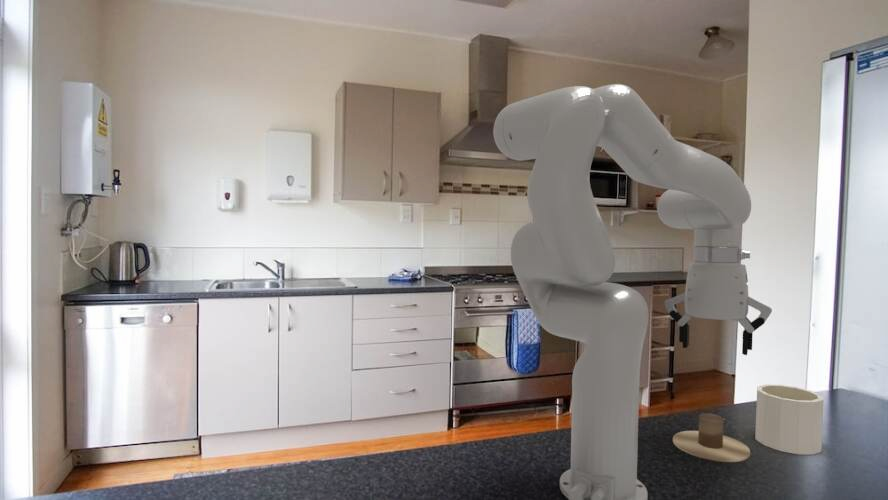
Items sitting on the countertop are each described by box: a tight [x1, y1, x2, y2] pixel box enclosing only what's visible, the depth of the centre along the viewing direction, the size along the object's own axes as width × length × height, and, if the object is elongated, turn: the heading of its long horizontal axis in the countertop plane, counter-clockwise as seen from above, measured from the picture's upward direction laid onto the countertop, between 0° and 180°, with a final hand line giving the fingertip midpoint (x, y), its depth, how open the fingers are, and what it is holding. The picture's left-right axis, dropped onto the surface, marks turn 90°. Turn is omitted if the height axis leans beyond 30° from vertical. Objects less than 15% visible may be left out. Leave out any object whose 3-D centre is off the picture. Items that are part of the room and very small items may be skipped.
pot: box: [754, 384, 824, 456], centre depth 96 cm, size 10×10×10 cm
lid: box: [672, 412, 751, 463], centre depth 94 cm, size 13×13×6 cm
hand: (714, 349), depth 94 cm, fingers open, 9 cm apart
